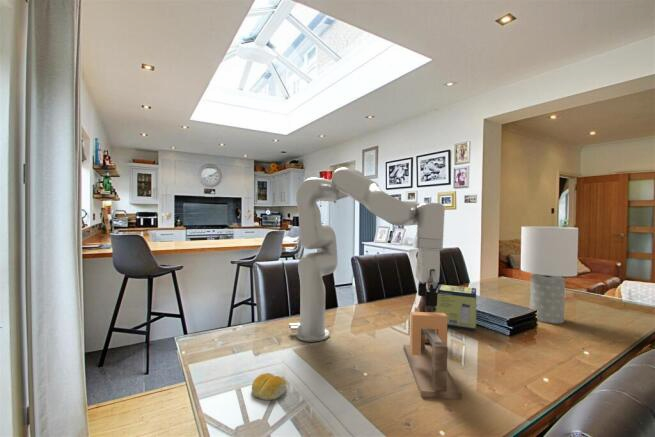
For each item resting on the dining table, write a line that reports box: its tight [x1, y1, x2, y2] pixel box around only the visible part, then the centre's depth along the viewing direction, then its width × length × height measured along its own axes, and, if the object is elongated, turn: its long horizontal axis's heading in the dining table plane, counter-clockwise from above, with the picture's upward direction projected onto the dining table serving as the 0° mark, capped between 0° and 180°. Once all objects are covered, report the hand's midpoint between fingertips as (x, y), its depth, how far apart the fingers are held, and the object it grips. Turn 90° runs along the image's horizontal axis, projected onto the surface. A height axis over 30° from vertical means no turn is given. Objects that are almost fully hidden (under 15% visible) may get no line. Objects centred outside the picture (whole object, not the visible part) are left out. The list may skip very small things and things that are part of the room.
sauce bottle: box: [418, 285, 437, 344], centre depth 114 cm, size 7×6×20 cm
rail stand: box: [403, 329, 462, 400], centre depth 92 cm, size 10×28×13 cm, turn 175°
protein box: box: [436, 284, 477, 333], centre depth 130 cm, size 10×16×16 cm
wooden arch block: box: [409, 311, 448, 356], centre depth 92 cm, size 10×3×12 cm, turn 86°
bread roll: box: [251, 372, 287, 401], centre depth 81 cm, size 8×9×4 cm
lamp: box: [520, 225, 579, 325], centre depth 138 cm, size 21×21×42 cm
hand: (426, 300), depth 92 cm, fingers open, 9 cm apart
